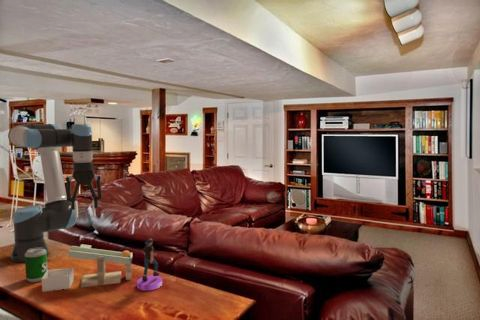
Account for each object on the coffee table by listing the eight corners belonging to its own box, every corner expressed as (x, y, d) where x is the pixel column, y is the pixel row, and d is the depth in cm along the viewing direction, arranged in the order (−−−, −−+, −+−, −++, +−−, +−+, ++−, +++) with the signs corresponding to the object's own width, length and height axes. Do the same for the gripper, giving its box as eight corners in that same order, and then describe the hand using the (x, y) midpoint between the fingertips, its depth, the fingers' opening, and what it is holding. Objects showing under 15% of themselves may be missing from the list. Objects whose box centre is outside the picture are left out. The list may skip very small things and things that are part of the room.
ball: (120, 257, 142) (122, 248, 142) (129, 258, 143) (131, 249, 143) (120, 260, 139) (122, 251, 139) (129, 261, 140) (131, 252, 140)
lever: (74, 245, 146) (75, 238, 146) (131, 252, 153) (133, 246, 153) (67, 257, 132) (69, 249, 132) (130, 264, 139) (132, 257, 139)
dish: (47, 282, 138) (47, 270, 137) (73, 279, 140) (73, 267, 140) (42, 291, 130) (41, 278, 130) (69, 288, 132) (69, 275, 132)
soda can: (38, 284, 137) (36, 253, 136) (21, 282, 138) (19, 252, 137) (52, 276, 144) (50, 247, 143) (36, 274, 146) (34, 246, 145)
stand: (84, 278, 141) (83, 251, 140) (131, 273, 146) (130, 247, 145) (80, 287, 133) (79, 259, 132) (131, 281, 138) (130, 254, 137)
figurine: (167, 282, 138) (166, 236, 136) (151, 292, 129) (150, 243, 128) (148, 278, 142) (146, 233, 140) (131, 287, 133) (130, 240, 132)
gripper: (55, 163, 141) (58, 220, 143) (106, 161, 146) (108, 216, 148) (59, 161, 148) (62, 216, 150) (108, 160, 153) (110, 212, 155)
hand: (85, 216), depth 149 cm, fingers open, 6 cm apart
